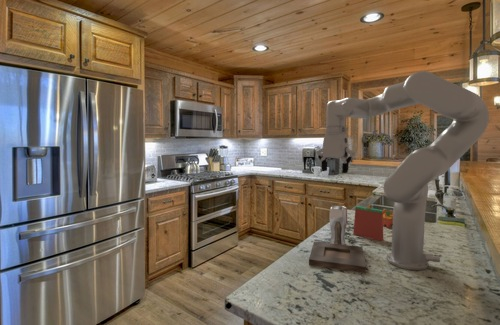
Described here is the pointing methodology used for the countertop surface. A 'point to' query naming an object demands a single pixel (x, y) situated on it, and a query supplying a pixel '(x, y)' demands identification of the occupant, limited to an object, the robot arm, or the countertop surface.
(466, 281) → the countertop surface
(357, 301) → the countertop surface
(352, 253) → the coaster board
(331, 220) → the beer glass
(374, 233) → the toy building block set
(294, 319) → the countertop surface
